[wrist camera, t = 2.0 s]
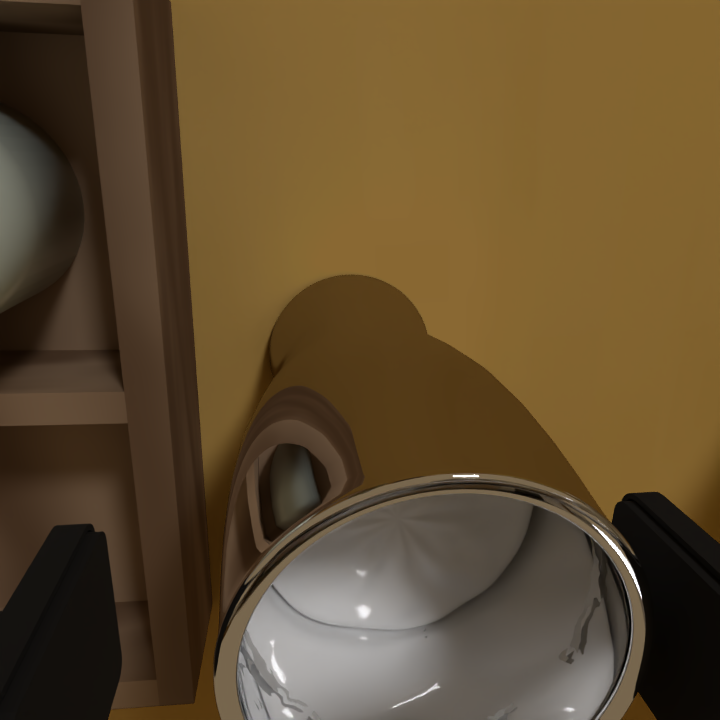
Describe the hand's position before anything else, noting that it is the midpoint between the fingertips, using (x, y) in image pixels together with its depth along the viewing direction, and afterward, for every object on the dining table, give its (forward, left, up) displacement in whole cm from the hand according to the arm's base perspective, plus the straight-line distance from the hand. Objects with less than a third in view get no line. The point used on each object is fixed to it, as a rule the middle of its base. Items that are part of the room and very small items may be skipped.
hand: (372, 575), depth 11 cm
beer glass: (-1, 0, -13) cm, 13 cm away
